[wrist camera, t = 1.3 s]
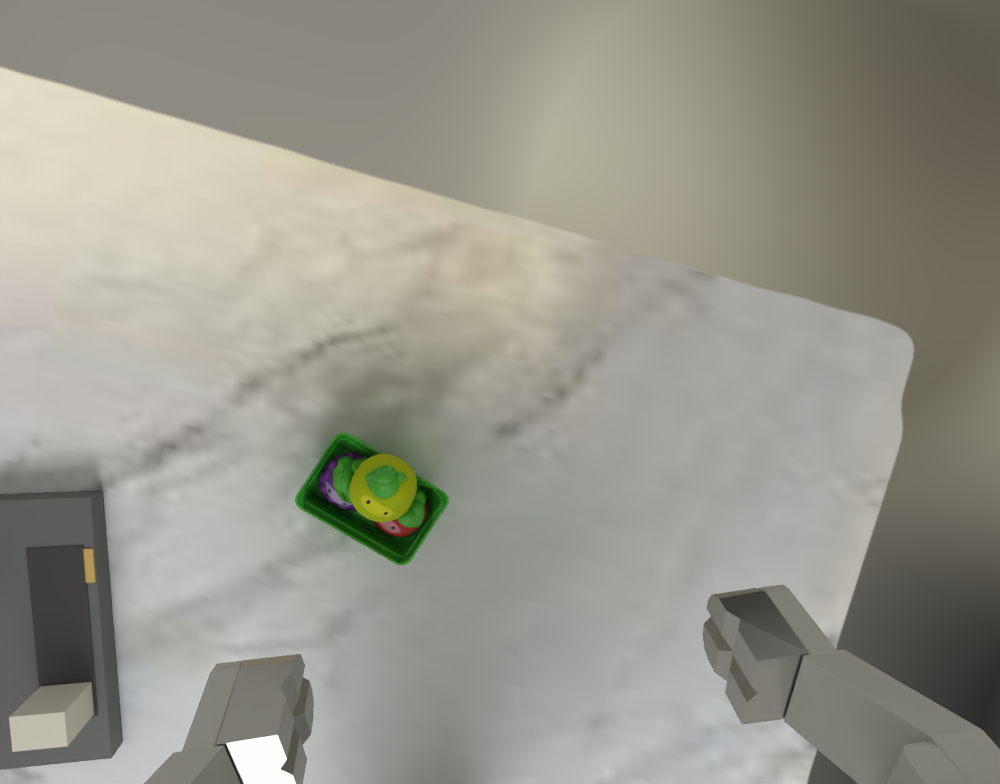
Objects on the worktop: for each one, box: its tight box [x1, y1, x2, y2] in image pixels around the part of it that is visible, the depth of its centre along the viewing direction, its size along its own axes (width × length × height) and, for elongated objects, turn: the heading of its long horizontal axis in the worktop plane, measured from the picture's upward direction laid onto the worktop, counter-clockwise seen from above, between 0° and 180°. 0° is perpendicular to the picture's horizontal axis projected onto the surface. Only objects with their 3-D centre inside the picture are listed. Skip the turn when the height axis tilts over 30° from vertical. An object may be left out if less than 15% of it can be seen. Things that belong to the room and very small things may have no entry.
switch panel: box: [0, 491, 122, 770], centre depth 50 cm, size 24×14×2 cm, turn 0°
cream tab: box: [9, 682, 94, 752], centre depth 48 cm, size 3×4×4 cm
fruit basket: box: [295, 433, 449, 565], centre depth 49 cm, size 11×9×11 cm
